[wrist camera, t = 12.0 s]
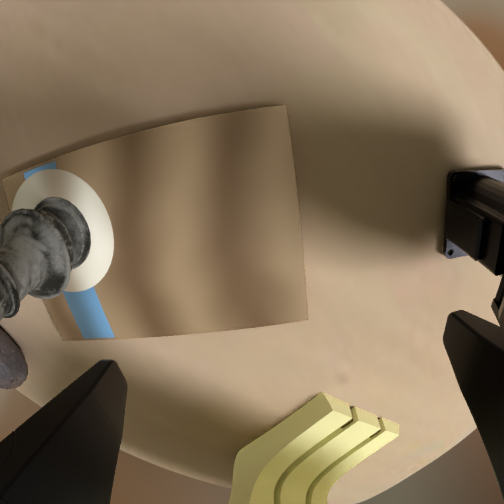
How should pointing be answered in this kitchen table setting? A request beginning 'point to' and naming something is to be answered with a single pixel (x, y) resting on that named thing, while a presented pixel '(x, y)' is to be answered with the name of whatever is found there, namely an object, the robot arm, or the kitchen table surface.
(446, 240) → the robot arm
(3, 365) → the perforated stone tool
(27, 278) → the dark grey chess piece
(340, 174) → the kitchen table surface
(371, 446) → the slatted curved stool
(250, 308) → the board
